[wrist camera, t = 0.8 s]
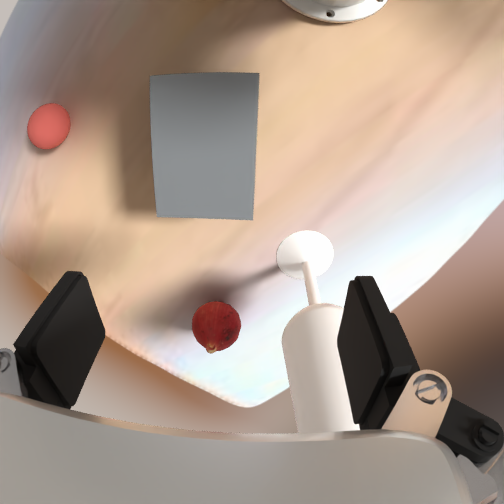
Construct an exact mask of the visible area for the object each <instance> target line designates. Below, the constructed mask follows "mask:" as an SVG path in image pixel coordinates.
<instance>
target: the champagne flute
mask: <svg viewBox="0 0 504 504" xmlns="http://www.w3.org/2000/svg"><path fill="white" fill-rule="evenodd" d="M276 259H277V264H278V266H279V268H280V269H281V271H282V272H283V273H284V274H286V275H287V276H289V277H291V278H294V279H299V280H305V285H306V291H307V296H308V302H309V306H308V307H306V308H304V309H302V310H301V311H299V312H298V313H297V314H296V315H294V317H293V318H292V319H291V320H290V321H289V323H288V324H287V326H286V327H285V329H284V332H283V335H282V347H283V353H284V358H285V363H286V369H287V374H288V380H289V385H290V391H291V396H292V402H293V407H294V413H295V418H296V424H297V429H298V433H320V432H337V431H353V430H360V428H359V424H354V422H353V417H352V412H351V407H350V402H349V397H348V393H347V388H346V383H345V379H344V374H343V370H342V365H341V361H340V356H339V352H338V348H337V336H338V332H339V328H340V323H341V319H342V315H343V310H344V308H342V307H340V306H336V305H333V304H328V303H321V300H320V295H319V291H318V286H317V282H316V278H315V277H317V276H319V275H321V274H322V273H324V272H325V271H326V270H327V269H328V268H329V266H330V264H331V262H332V260H333V248H332V245H331V243H330V241H329V240H328V239H327V238H326V237H325V236H323V235H322V234H320V233H318V232H315V231H299V232H296V233H293V234H291V235H290V236H288V237H287V238H286V239H284V240H283V242H282V243H281V244H280V246H279V248H278V250H277V258H276Z"/></svg>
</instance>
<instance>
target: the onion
mask: <svg viewBox="0 0 504 504" xmlns="http://www.w3.org/2000/svg"><path fill="white" fill-rule="evenodd" d="M240 329H241V321H240V318H239V314H238V313H237V311H236V310H235V309H234V308H233V307H232V306H231V305H228V304H226V303H224V302H217V301H214V302H208V303H206V304H204V305H202V306H201V307H200V308H198V310H197V311H196V312H195V314H194V316H193V319H192V331H193V334H194V336H195V338H196V340H197V341H198V342H199V343H200V344H201V345H202V346H203V347H205V348H206V350H207V352H208V353H213V352H216V351H221V350H224V349H226V348H228V347H230V346H231V345H232V344H233V343H234V342H235V341H236V340H237V338H238V335H239V332H240Z"/></svg>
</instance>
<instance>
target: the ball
mask: <svg viewBox="0 0 504 504" xmlns="http://www.w3.org/2000/svg"><path fill="white" fill-rule="evenodd" d="M69 130H70V117H69V114H68V112H67V111H66V110H65V109H64V108H63V107H62V106H60V105H58V104H54V103H49V104H45V105H42V106H40V107H39V108H37V109H36V110H35V111H34V112H33V114H32V115H31V117H30V119H29V122H28V126H27V132H28V137H29V139H30V141H31V142H32V143H33V144H34V145H35V146H36V147H38V148H41V149H52V148H54V147H56V146H58V145H60V144H61V143H62V142H63V141H64V140H65V138H66V137H67V135H68V133H69Z"/></svg>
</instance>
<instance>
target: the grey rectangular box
mask: <svg viewBox="0 0 504 504" xmlns="http://www.w3.org/2000/svg"><path fill="white" fill-rule="evenodd" d="M259 76H260V75H259V73H235V72H214V73H183V74H166V75H154V76H150V121H151V144H152V162H153V176H154V189H155V201H156V212H157V217H176V218H209V219H235V220H253V209H254V190H255V169H256V145H257V122H258V99H259Z"/></svg>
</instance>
